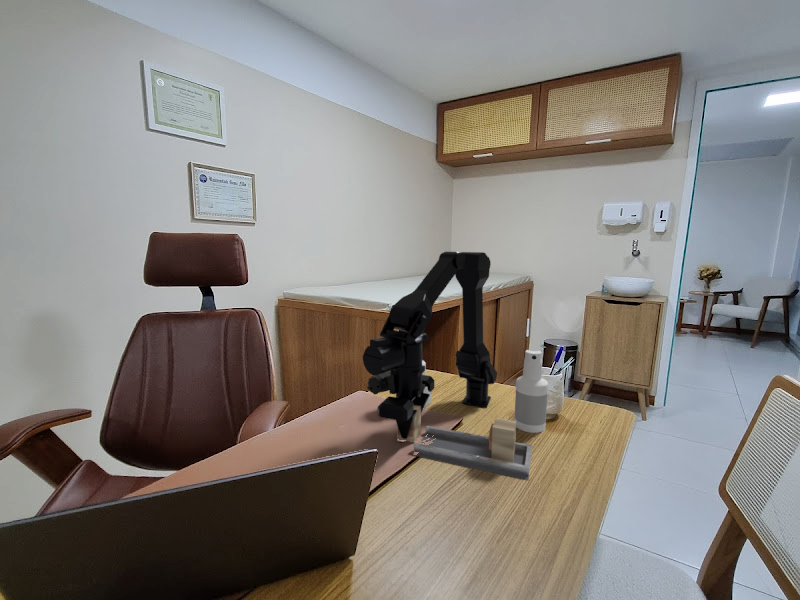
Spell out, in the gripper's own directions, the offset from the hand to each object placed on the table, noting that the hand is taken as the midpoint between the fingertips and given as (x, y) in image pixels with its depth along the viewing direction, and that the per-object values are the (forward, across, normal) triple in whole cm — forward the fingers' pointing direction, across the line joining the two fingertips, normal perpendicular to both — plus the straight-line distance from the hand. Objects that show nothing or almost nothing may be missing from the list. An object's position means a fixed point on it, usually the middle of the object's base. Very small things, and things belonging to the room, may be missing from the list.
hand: (408, 432), depth 82 cm
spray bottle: (+2, -15, +24) cm, 29 cm away
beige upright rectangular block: (+1, +1, +20) cm, 20 cm away
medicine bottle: (+2, -17, -5) cm, 18 cm away
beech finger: (+2, 0, 0) cm, 2 cm away
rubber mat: (+2, +1, +14) cm, 14 cm away
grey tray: (+2, +1, +14) cm, 14 cm away
